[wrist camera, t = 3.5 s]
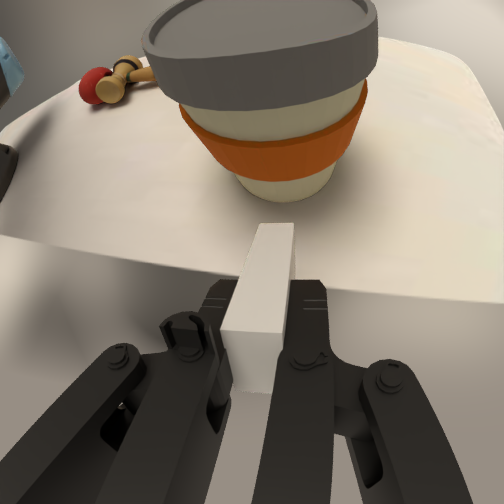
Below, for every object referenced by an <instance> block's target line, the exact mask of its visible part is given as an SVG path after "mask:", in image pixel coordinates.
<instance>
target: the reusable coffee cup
mask: <svg viewBox="0 0 504 504" xmlns="http://www.w3.org/2000/svg"><path fill="white" fill-rule="evenodd" d="M141 42H142V47H143V50H144V52H145V55H146V57H147V60H148V62H149V64H150V67H151V69H152V72H153V74H154V76H155V79H156V81H157V83H158V86H159V87H160V88H161V90H162V91H163V92H164V94H165V95H166V96H168V97H170V98H171V99H173V100H175V101H176V102H178V103H179V108H180V111H181V115H182V118H183V119H184V120H185V122H186V123H187V124H188V126H189V127H190V128H191V129H192V131H193V132H194V133H195V134H196V135H197V137H198V138H199V139H200V140H201V142H202V143H203V144H204V145H205V146H206V148H207V149H208V150H209V151H210V153H211V154H212V155H213V156H214V158H215V159H216V160H217V161H218V162H219V163H220V164H221V165H223V166H224V167H225V168H226V169H228V170H230V171H232V172H233V173H234V174H235V175H236V177H237V178H238V179H239V181H240V182H241V184H242V185H243V186H244V187H245V188H246V189H247V190H248V191H249V192H250V193H252V194H253V195H255V196H257V197H259V198H261V199H264V200H268V201H272V202H279V203H282V202H294V201H299V200H302V199H305V198H307V197H310V196H312V195H313V194H315V193H317V192H318V191H320V190H321V189H322V188H323V187H324V186H325V185H326V183H327V182H328V180H329V179H330V177H331V175H332V173H333V170H334V167H335V165H336V162H337V160H338V159H339V158H340V157H341V156H342V155H343V153H344V152H345V150H346V149H347V147H348V146H349V144H350V141H351V139H352V136H353V133H354V131H355V128H356V125H357V123H358V120H359V118H360V115H361V112H362V109H363V107H364V104H365V100H366V97H367V93H368V89H367V80H366V77H368V75H369V74H370V73H371V71H372V70H373V69H374V67H375V66H376V62H377V58H378V21H377V11H376V8H375V5H374V4H373V3H372V2H371V1H370V0H181V1H179V2H177V3H175V4H174V5H172V6H170V7H169V8H167V9H166V10H165V11H163V12H162V13H161V14H159V15H158V16H157V17H156V18H155V19H154V20H153V21H152V22H151V23H150V24H149V26H148V27H147V28H146V30H145V31H144V33H143V36H142V39H141Z"/></svg>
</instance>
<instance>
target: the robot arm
mask: <svg viewBox="0 0 504 504" xmlns="http://www.w3.org/2000/svg"><path fill="white" fill-rule="evenodd" d="M23 79H24V71H23V69H22V67H21V65H20V64H19V62H18V60H17V59H16V57H15V56H14V54H13V53H12V51H11V49H10V48H9V46H8V45H7V43H6V42H5V41H4V39H3V38H1V37H0V109H1V108H2V106H3V105H4V104H5V103H6V102H7V101H8V99H9V98H10V97H12V95H13V93H14V92H15V90H16V89H17V88H18V86H20V84H21V83H22V81H23ZM17 159H18V152H17V151H16V150H15V149H13V148H12V147H11V146H8V145H5V144H1V143H0V201H1V199H2V197H3V195H4V193H5V191H6V189H7V187H8V185H9V183H10V181H11V178H12V176H13V173H14V170H15V167H16V164H17ZM159 327H160V329H161V332H162V335H163V337H164V339H165V342H166V344H167V347H168V350H167V351H166V352H161V353H153V354H143V355H140V353H139V351H138V349H137V348H136V347H135V346H133V345H131V344H128V343H121V344H116V345H114V346H111V347H109V348H108V349H107V350H105V351H104V352H103V353H102V354H101V355H100V356H99V357H98V358H97V359H96V360H95V361H94V362H93V363H92V364H91V365H90V366H89V367H88V368H87V369H86V370H85V371H84V372H83V373H82V374H81V375H80V376H79V377H78V378H77V379H76V380H75V381H74V382H73V383H72V384H71V385H70V386H69V387H68V388H67V389H66V390H65V391H64V392H63V393H62V395H61V396H60V397H59V398H58V399H57V400H56V401H55V402H54V403H53V404H52V405H51V406H50V407H49V408H48V409H47V410H46V411H45V413H44V414H43V415H42V416H41V417H40V418H39V419H38V420H37V421H36V422H35V423H34V425H32V426H31V428H30V429H29V430H28V431H27V432H26V433H25V434H24V435H23V436H22V437H21V439H20V440H19V441H18V442H17V443H16V444H15V445H14V447H13V448H12V449H11V450H10V451H9V452H8V453H7V454H6V456H5V457H4V458H3V459H2V460H1V461H0V504H204V502H205V499H206V496H207V492H208V489H209V485H210V482H211V478H212V474H213V471H214V467H215V464H216V460H217V457H218V453H219V449H220V446H221V442H222V438H223V435H224V430H225V427H226V423H227V419H228V416H229V412H230V409H231V397H230V391H231V387H232V383H233V384H234V388H235V390H236V391H245V392H254V393H268V394H272V398H271V404H270V410H269V416H268V421H267V428H266V433H265V438H264V444H263V449H262V454H261V459H260V465H259V470H258V475H257V479H256V484H255V489H254V494H253V498H252V503H251V504H330V496H331V484H332V468H333V467H332V466H333V445H334V434H339V435H342V436H345V439H346V442H347V446H348V449H349V453H350V456H351V460H352V463H353V467H354V471H355V474H356V478H357V482H358V486H359V489H360V493H361V497H362V501H363V504H473V502H472V499H471V496H470V494H469V491H468V488H467V485H466V483H465V480H464V477H463V475H462V472H461V470H460V468H459V465H458V463H457V460H456V458H455V455H454V453H453V451H452V449H451V446H450V444H449V442H448V440H447V437H446V436H445V433H444V431H443V429H442V427H441V425H440V423H439V420H438V419H437V416H436V414H435V412H434V410H433V408H432V407H431V405H430V402H429V400H428V398H427V397H426V395H425V393H424V391H423V389H422V387H421V385H420V383H419V381H418V380H417V378H416V376H415V374H414V373H413V371H412V370H411V369H410V368H409V367H408V366H407V365H406V364H404V363H402V362H400V361H396V360H392V359H386V360H379V361H377V362H375V363H373V364H371V365H370V366H369V367H368V368H363V367H359V366H355V365H351V364H348V363H345V362H344V361H342V360H341V359H339V358H338V357H337V356H336V355H335V354H334V353H333V351H332V349H331V347H330V340H329V322H328V307H327V294H326V288H325V287H324V285H323V284H322V283H321V281H320V280H295V240H294V223H260V224H259V227H258V229H257V232H256V235H255V237H254V240H253V243H252V245H251V248H250V250H249V253H248V256H247V258H246V261H245V264H244V266H243V269H242V272H241V275H240V277H239V280H223V279H222V280H221V279H220V280H219V281H218V282H216V283H215V284H214V285H213V286H212V287H211V288H210V290H209V292H208V293H207V296H206V299H205V300H204V302H203V304H202V307H201V308H200V310H199V312H198V313H197V312H193V311H189V312H180V313H177V314H174V315H172V316H170V317H168V318H167V319H165V320H164V321H163V322H162V323H161V324H160V326H159ZM121 403H123V404H122V405H120V404H121ZM119 405H120V406H119Z"/></svg>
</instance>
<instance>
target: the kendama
mask: <svg viewBox="0 0 504 504" xmlns="http://www.w3.org/2000/svg"><path fill="white" fill-rule="evenodd" d="M144 81H156V79H155V76H154V74H153V72H152V69H151V67H150V66H149V67H145V68H143V65H142V63H141V62H140V60H139V59H137V58H136V57H133V56H129V55H127V56H123V57H121V58H120V59H119V60H118V61H116V63H115V64H114V66H113V72H112V71H111V70H109V69H107V68H104V67H97V68H94V69H92V70H90V71H88V72H87V73H86V74H85V75H84V76H83V78H82V79H81V81H80V84H79V94H80V96H81V98H82V99H83V100H84V101H85V102H86V103H89V104H100V103H103V102H106V103H111V104H112V103H116V102H118V101H119V100H120V99H121V98H122V97H123V95H124V92H125V89H124V86H125V85H126V83H133V82H144Z"/></svg>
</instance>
